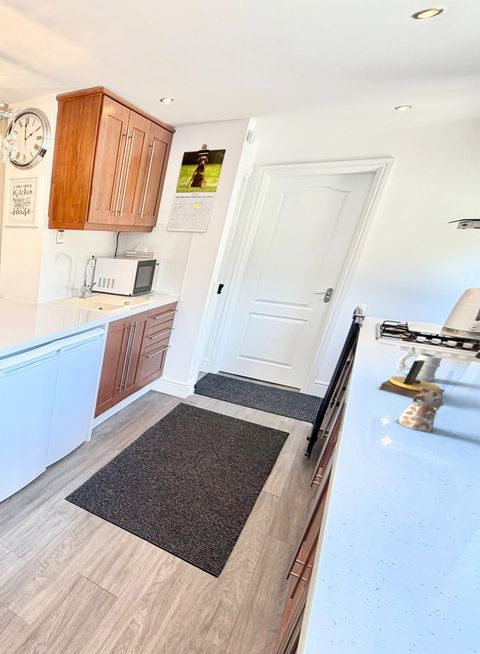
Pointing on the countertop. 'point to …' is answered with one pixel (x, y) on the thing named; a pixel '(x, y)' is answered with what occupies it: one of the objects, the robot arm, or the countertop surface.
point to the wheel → (414, 379)
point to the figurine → (422, 411)
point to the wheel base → (403, 390)
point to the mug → (428, 367)
